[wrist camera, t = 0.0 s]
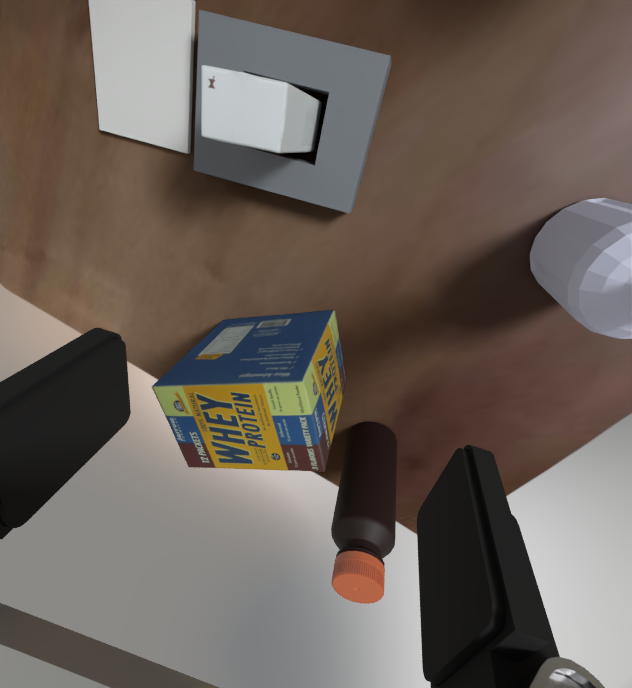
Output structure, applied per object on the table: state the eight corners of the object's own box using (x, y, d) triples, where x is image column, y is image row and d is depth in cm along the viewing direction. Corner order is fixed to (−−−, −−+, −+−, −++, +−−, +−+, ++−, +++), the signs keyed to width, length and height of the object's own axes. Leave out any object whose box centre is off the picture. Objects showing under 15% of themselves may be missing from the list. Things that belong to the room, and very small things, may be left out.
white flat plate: (91, -24, 31) (86, -27, 31) (195, 1, 31) (191, -2, 30) (103, 129, 38) (99, 129, 37) (190, 153, 37) (187, 153, 36)
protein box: (348, 381, 46) (326, 474, 33) (242, 384, 51) (185, 468, 37) (336, 307, 42) (305, 381, 28) (220, 318, 46) (146, 386, 33)
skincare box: (257, 140, 35) (197, 136, 25) (262, 88, 33) (198, 60, 23) (316, 153, 34) (280, 155, 24) (324, 101, 32) (288, 79, 22)
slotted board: (216, 21, 31) (199, 9, 29) (391, 63, 30) (390, 55, 27) (207, 168, 37) (193, 170, 35) (353, 209, 36) (349, 213, 34)
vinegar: (373, 412, 48) (357, 558, 31) (407, 442, 49) (410, 599, 32) (339, 435, 51) (307, 579, 34) (371, 463, 52) (357, 615, 35)
